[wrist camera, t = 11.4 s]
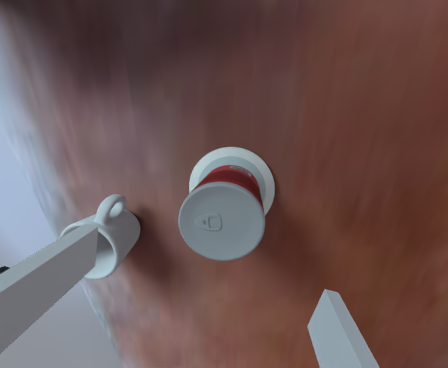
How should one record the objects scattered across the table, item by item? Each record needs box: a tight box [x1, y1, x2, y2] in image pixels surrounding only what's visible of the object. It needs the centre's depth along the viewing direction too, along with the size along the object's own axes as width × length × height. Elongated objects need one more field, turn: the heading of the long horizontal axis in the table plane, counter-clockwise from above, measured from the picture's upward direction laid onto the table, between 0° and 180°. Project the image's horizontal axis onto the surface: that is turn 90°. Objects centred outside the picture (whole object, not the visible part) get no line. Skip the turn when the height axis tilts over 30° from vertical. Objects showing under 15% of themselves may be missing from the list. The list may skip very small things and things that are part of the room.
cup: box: [59, 194, 140, 279], centre depth 30 cm, size 11×8×8 cm
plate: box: [189, 147, 275, 215], centre depth 30 cm, size 12×12×1 cm
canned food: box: [178, 165, 265, 261], centre depth 24 cm, size 8×8×11 cm
